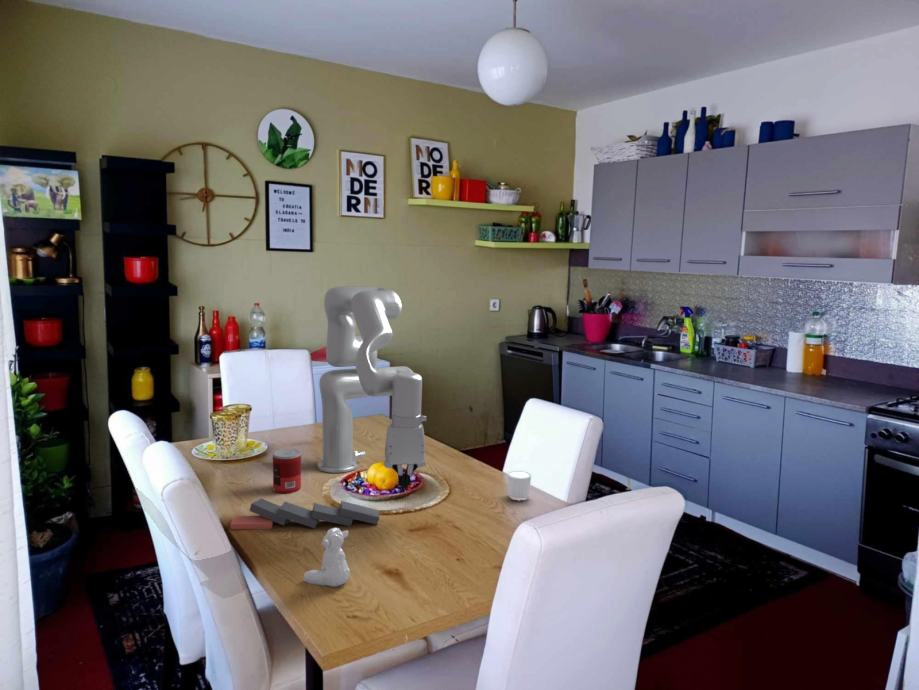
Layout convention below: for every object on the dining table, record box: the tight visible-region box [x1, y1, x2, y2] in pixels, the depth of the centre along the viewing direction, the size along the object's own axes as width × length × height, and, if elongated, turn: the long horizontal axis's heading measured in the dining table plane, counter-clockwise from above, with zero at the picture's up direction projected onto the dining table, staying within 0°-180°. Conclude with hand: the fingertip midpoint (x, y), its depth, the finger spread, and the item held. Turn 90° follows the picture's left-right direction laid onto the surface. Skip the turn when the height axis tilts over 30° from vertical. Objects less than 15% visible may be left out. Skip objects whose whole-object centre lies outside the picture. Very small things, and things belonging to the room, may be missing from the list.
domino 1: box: [249, 497, 292, 527], centre depth 172 cm, size 2×5×10 cm
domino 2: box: [277, 501, 320, 529], centre depth 170 cm, size 2×5×10 cm
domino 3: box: [311, 502, 354, 527], centre depth 172 cm, size 2×5×10 cm
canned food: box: [272, 448, 302, 495], centre depth 194 cm, size 8×8×11 cm
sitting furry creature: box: [303, 527, 351, 588], centre depth 142 cm, size 10×9×12 cm
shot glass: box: [507, 470, 532, 498], centre depth 193 cm, size 7×7×7 cm
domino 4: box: [338, 500, 380, 525], centre depth 173 cm, size 2×5×10 cm
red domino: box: [229, 515, 275, 530], centre depth 170 cm, size 2×5×10 cm
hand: (404, 488), depth 175 cm, fingers closed
